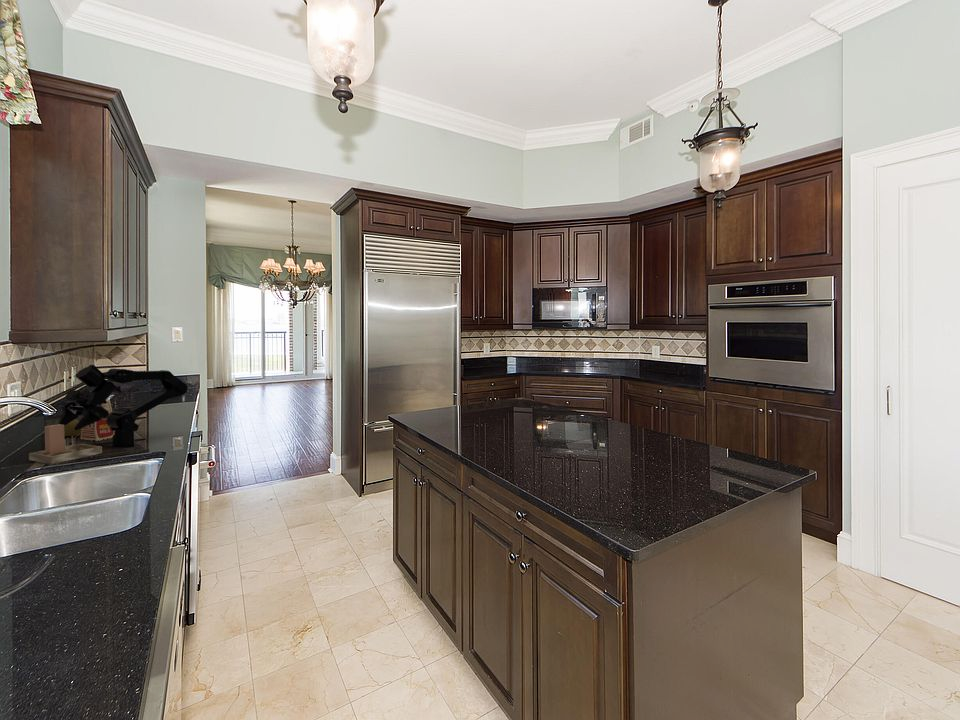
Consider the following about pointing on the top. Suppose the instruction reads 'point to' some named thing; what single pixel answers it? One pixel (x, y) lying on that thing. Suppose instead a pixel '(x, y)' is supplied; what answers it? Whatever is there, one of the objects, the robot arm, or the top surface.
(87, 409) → the robot arm
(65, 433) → the potato
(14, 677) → the top surface
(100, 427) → the milk carton
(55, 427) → the pink rectangular block
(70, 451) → the beige tray
